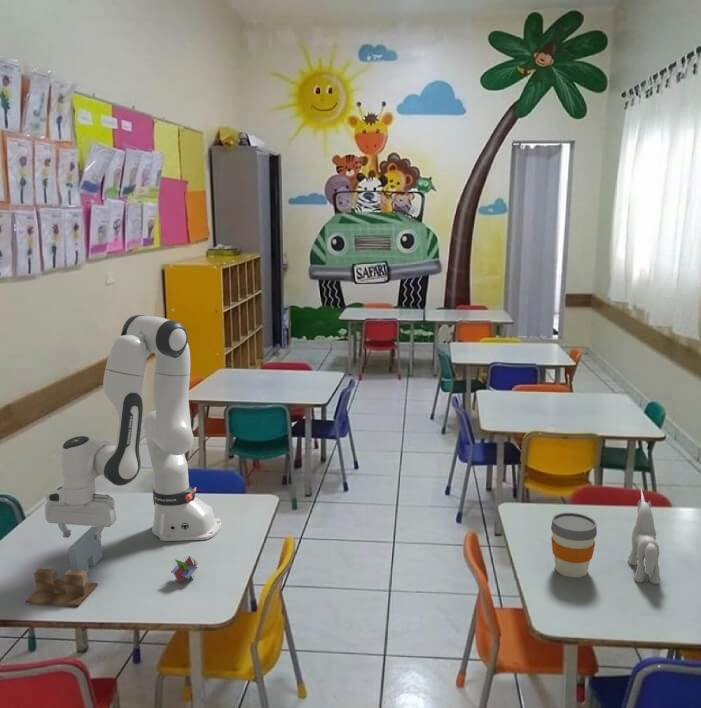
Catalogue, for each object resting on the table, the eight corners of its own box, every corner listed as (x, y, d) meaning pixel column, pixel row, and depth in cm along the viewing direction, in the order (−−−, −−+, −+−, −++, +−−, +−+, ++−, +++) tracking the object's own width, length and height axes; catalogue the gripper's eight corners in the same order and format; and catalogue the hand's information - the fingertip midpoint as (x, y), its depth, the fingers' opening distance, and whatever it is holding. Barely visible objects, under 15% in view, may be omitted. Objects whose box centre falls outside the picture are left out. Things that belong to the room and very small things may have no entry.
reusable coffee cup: (540, 568, 206) (542, 520, 203) (564, 554, 214) (567, 508, 210) (578, 585, 196) (581, 536, 193) (602, 570, 204) (606, 522, 201)
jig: (97, 585, 199) (95, 563, 197) (78, 607, 188) (76, 584, 187) (47, 582, 201) (45, 560, 199) (25, 603, 190) (23, 580, 189)
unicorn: (649, 548, 217) (654, 488, 212) (664, 591, 193) (670, 524, 189) (623, 546, 218) (627, 485, 214) (635, 588, 195) (640, 521, 190)
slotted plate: (94, 556, 215) (91, 526, 213) (102, 557, 215) (99, 526, 213) (71, 580, 201) (68, 548, 199) (79, 581, 201) (76, 549, 199)
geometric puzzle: (179, 584, 195) (190, 556, 197) (162, 578, 198) (173, 550, 201) (195, 589, 200) (206, 561, 203) (177, 582, 204) (188, 555, 207)
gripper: (118, 491, 205) (121, 535, 207) (52, 486, 207) (55, 530, 210) (108, 499, 198) (111, 545, 201) (40, 495, 201) (43, 540, 203)
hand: (82, 537), depth 205 cm, fingers open, 8 cm apart
